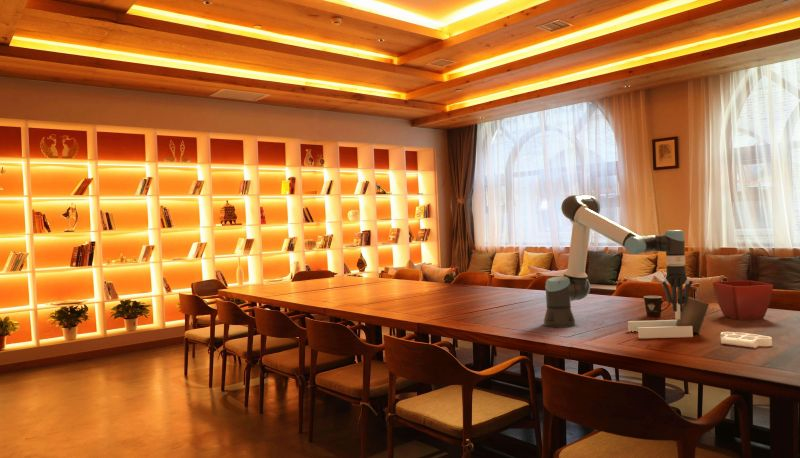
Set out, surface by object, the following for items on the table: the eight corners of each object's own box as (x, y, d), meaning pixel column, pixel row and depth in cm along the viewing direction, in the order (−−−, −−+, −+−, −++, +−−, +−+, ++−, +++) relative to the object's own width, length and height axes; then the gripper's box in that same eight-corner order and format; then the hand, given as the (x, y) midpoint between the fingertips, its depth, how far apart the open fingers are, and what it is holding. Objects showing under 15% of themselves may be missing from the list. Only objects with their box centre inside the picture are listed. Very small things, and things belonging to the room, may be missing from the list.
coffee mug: (640, 316, 287) (640, 297, 287) (652, 314, 290) (651, 295, 290) (659, 319, 276) (658, 299, 276) (671, 317, 280) (671, 297, 280)
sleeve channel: (639, 338, 237) (638, 327, 237) (628, 331, 253) (627, 321, 252) (692, 336, 235) (692, 326, 235) (678, 329, 250) (677, 319, 250)
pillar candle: (702, 335, 237) (714, 302, 236) (679, 327, 238) (691, 294, 238) (693, 331, 247) (705, 299, 246) (671, 323, 248) (683, 292, 247)
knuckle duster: (712, 344, 222) (726, 338, 232) (763, 350, 209) (776, 344, 218) (712, 335, 222) (726, 330, 232) (763, 342, 208) (776, 335, 218)
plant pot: (776, 319, 261) (774, 284, 261) (735, 321, 261) (733, 286, 261) (751, 313, 280) (749, 280, 280) (713, 315, 280) (711, 281, 280)
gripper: (663, 266, 239) (665, 320, 239) (694, 265, 238) (696, 320, 238) (657, 265, 247) (659, 317, 247) (687, 264, 245) (689, 317, 245)
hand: (677, 318), depth 242 cm, fingers closed
